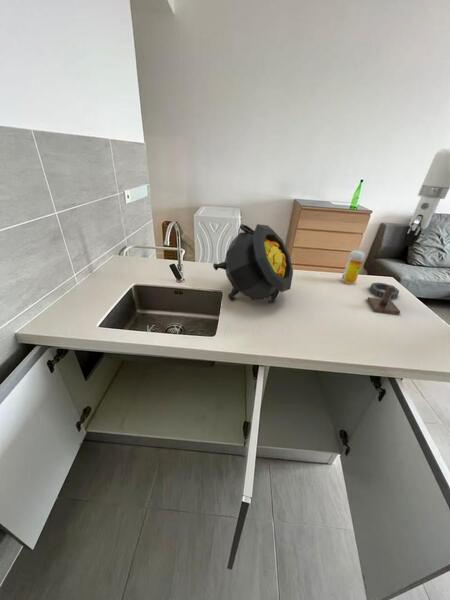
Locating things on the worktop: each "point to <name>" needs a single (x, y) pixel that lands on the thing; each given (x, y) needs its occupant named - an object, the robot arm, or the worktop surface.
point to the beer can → (353, 266)
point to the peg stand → (384, 302)
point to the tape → (375, 290)
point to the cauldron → (257, 264)
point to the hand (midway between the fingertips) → (409, 242)
